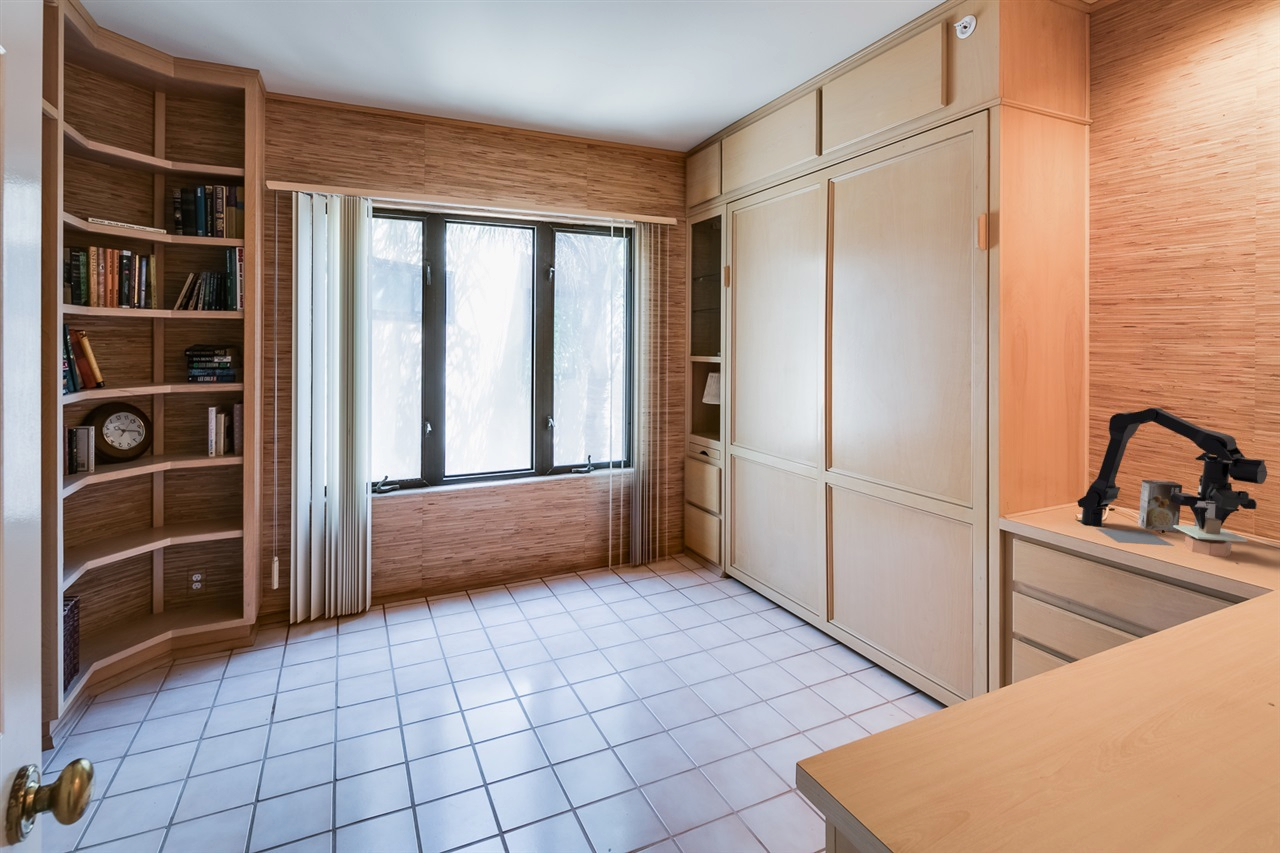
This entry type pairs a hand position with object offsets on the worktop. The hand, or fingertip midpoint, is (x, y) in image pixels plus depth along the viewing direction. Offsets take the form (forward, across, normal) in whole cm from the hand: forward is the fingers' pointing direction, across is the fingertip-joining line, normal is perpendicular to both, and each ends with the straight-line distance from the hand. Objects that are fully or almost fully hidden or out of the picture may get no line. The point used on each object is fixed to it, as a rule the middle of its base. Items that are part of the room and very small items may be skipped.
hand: (1209, 529), depth 187 cm
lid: (+2, 0, 0) cm, 2 cm away
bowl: (+7, 0, 0) cm, 7 cm away
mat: (+7, -14, +11) cm, 19 cm away
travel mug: (+7, +9, +17) cm, 21 cm away
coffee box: (+7, -1, +24) cm, 25 cm away
